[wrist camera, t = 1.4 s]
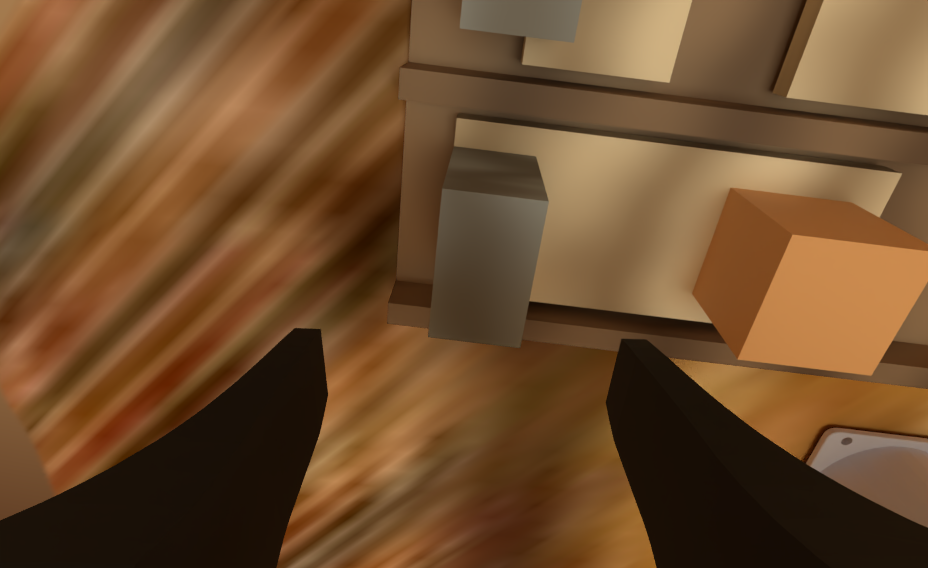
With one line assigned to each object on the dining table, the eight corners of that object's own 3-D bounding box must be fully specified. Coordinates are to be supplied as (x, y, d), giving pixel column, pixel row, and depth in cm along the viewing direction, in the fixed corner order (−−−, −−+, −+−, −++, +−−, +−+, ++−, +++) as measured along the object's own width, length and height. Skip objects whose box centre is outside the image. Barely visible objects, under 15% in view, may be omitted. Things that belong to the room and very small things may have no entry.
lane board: (1237, -167, 15) (1615, -254, 10) (909, 355, 24) (1021, 450, 19) (430, -273, 15) (397, -417, 10) (397, 293, 24) (371, 372, 19)
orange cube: (851, 202, 19) (944, 253, 15) (801, 307, 21) (871, 375, 17) (730, 187, 19) (792, 234, 15) (692, 293, 21) (737, 359, 17)
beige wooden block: (883, 165, 20) (1029, 224, 14) (805, 323, 23) (899, 419, 18) (458, 112, 19) (445, 152, 14) (441, 278, 23) (425, 361, 17)
